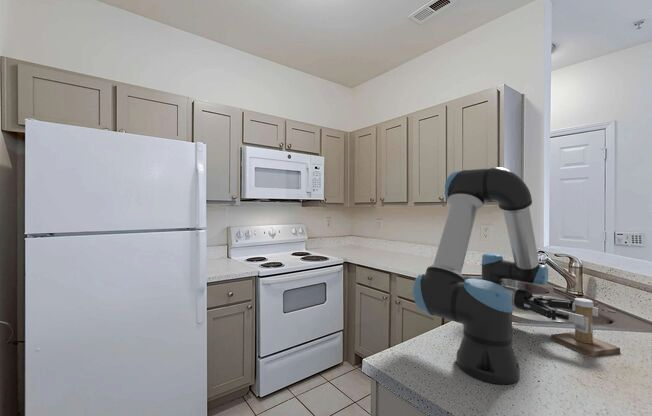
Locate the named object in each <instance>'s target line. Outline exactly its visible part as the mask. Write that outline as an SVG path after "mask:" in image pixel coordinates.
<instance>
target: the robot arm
mask: <svg viewBox="0 0 652 416" xmlns="http://www.w3.org/2000/svg"><path fill="white" fill-rule="evenodd" d="M531 194H532V193H531V191H530V189H529V187H528V186H527V184H526V183H525V182H524V180H523V179H522V178H521V177H520V176H518V174H516V173H515V172H513V171H512V170H509V169H507V168H504V167H497V166H495V167H494V166H493V167H489V168H488V167H487V168H477V169H462V170H457V171H454V172H452V173H450V175H448V177H447V179H446V181H445V183H444V195H445V198H446V200H447V203H448V204H449V206H450V208H449V210H448V213H447V217H446V220H445V223H444V228H443V231H442V234H441V238H440V241H439V243H438V244H439V245H438V247H437V250H436V255H435V258H434V261H433V264H432V265H430V266H429V265H428V266H427V268H426V270H425V273H422V274H419V275H417V277H415V280H414V283H413V290H412V291H413V292H412V293H413V295H412V296H413V299H414V303H415V305H416V307H417V309H419V310H420V311H422V312H424V313H426V314H429V315H430V316H436V317H439V318H442V319H446V320H448V321H452V322H455V323H458V324H462V325H463V336H462V338H461V342H460V344H459V347H458V349H457V351H456V355H455V356H456V362H455V363H456V365H457V366H458V368H459V369H460V370H461V371H463V373H465V374H467V375H468V376H471V377H473V378H474V379H477V380H480V381H483V382H486V383H491V384H495V385H511V384H515V383H516V382H519V380H520V378H521V377H520V376H521V375H520V374H521V373H520V365H519V363H518V361H517V357H516V354H515V351H514V348H513V310H514V308H516V309H517V310H518V309H519V310H522V311H527V312H529V311H532V312H533V313H535V314H537V315H540V316H543V317H546V318H547V319H551V320H552V321H556V320H557V319H558V320H562V321H566V322H569V323H574V324H575V323H577V324H581V325H583V320H584V316H582V315H578V314H575V304H574V301H575V299H570V300H568V299H563V298H555V297H547V296H543V295H538V296H536V297H535V296H534V295H533V293H532V292H531V290H527V289H523V288H518V287H513V286H510V285H505V284H503V281H504V280H508V281H514V282H519V283H525V284H530V285H534V286H535V285H536V286H545V285H546V284H547V283H548V281H549V268H548V267H547V266H546V265H544V264H540V261H539V257H538V256H539V255H538V250H537V244H536V237H535V233H534V232H535V231H534V227H533V221H532V217H531V209H530V207H531V206H532V205H533V199H532V198H533V197H532V195H531ZM486 202H496V203H497V205H498V208H499V209H500V210H502V211H503V216H504V221H505V224H506V230H507V234H508V239H509V243H510V247H511V252H512V257H513V260H507V259H504V257H503V255H502V254H498V253H484V254H482V255H481V256H482V257H481V279H479V278H467V279H465V276H464V275H463V274H462V271H463V267H464V264H465V260H466V259H465V258H466V255H467V251H468V249H469V244H470V240H471V236H472V231H473V228H474V225H475V220H476V216H477V212H480V211H482V209H483V208H484V204H485V203H486ZM562 309H563V310H562ZM565 309H566V310H572V311H573V312H574V313H573V312H570V311H566V310H565ZM592 311H593V312H592V313H593V316H594V317H598V316H599V307H594V306H593V310H592ZM593 316H592V317H593Z"/></svg>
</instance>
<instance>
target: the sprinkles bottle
mask: <svg viewBox="0 0 652 416" xmlns="http://www.w3.org/2000/svg"><path fill="white" fill-rule="evenodd" d="M574 304H575V311H574V314H578V315H582V316H584V320H583V325H581V324H577V323H574V332H575V339H576V340H578V341H580V342H583V343H589V344H590V343H593V338H594V337H593V336H594V334H593V333H594V323H593V322H594V321H593V320H594V319H593V313H592V312H593V311H592V310H593V307H594V301H593V300H591V299H588V298H582V297H575V298H574Z"/></svg>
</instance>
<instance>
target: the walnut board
mask: <svg viewBox="0 0 652 416" xmlns="http://www.w3.org/2000/svg"><path fill="white" fill-rule="evenodd" d="M550 340H552V341H554V342H557V343H559V344H561V345H563V346H566V347H568V348H570V349H572V350H575V351H577V352H579V353H581V354H584V355H585V356H588V357H590V358H591V357H600V356H605V355H606V356H607V355H613V354H621V347H619V346H617V345H613V344H611V343H608V342H606V341H604V340H600V339H598V338H595V337H593V343H590V344H589V343H583V342H580V341H578V340H576V339H575V331H573V332H563V333H552V334H550Z"/></svg>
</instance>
